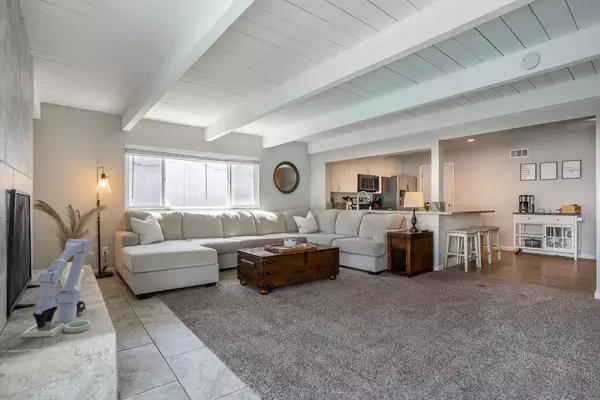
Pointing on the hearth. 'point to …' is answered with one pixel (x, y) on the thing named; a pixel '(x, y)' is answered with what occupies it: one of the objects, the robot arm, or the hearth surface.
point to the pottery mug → (80, 307)
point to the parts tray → (35, 333)
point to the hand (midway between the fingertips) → (44, 324)
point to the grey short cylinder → (45, 326)
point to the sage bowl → (77, 326)
